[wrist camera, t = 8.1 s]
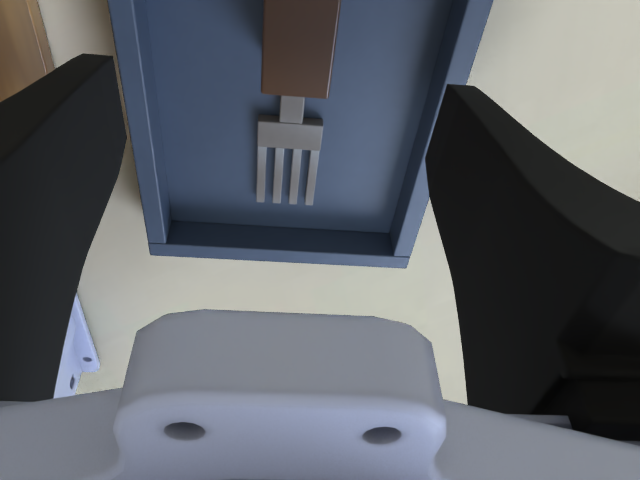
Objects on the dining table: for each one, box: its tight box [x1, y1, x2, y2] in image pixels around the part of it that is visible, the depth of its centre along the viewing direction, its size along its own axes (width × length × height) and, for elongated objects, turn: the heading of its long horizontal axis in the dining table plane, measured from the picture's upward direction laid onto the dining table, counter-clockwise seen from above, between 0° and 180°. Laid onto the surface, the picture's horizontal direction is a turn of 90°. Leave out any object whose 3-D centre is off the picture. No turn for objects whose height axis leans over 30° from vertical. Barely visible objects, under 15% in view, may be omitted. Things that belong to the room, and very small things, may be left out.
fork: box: [256, 0, 342, 205], centre depth 19 cm, size 13×2×3 cm, turn 174°
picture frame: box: [107, 0, 493, 268], centre depth 20 cm, size 18×12×2 cm, turn 174°
